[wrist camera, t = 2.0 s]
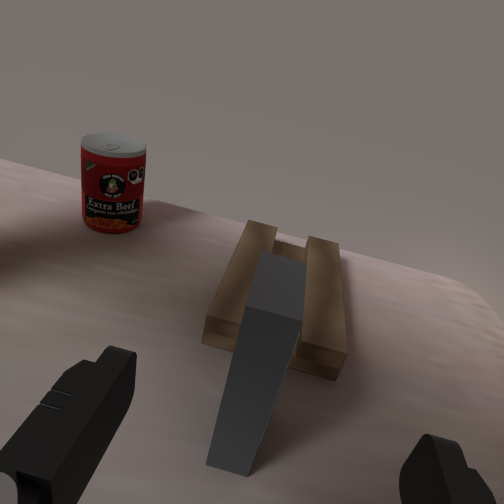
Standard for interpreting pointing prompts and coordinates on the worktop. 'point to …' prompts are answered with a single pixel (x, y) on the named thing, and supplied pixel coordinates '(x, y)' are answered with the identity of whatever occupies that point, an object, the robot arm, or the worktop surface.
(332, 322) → the brown grooved block
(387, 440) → the worktop surface
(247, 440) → the grey rectangular block
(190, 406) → the worktop surface
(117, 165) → the canned food
